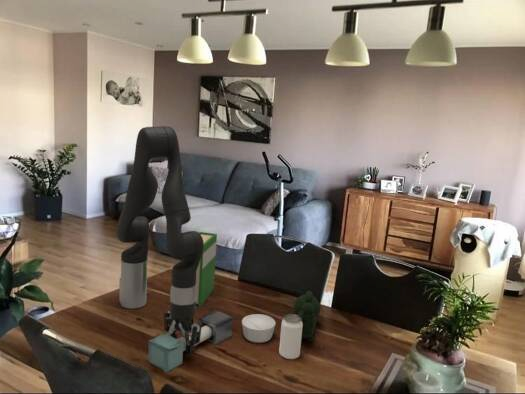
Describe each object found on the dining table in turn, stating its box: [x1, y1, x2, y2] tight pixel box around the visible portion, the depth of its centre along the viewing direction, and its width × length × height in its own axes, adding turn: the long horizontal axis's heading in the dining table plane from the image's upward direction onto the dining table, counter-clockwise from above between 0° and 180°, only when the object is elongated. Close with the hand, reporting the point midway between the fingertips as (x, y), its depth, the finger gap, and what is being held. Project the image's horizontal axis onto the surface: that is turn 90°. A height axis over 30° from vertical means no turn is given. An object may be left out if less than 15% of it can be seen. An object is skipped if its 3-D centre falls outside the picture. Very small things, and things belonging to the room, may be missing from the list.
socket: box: [147, 332, 184, 373], centre depth 120 cm, size 8×6×6 cm
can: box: [278, 313, 303, 360], centre depth 129 cm, size 6×6×12 cm
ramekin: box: [241, 313, 276, 344], centre depth 139 cm, size 11×11×5 cm
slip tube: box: [177, 325, 213, 352], centre depth 129 cm, size 4×22×4 cm, turn 143°
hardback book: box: [196, 231, 218, 308], centre depth 165 cm, size 18×7×24 cm, turn 170°
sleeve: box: [198, 309, 234, 346], centre depth 137 cm, size 8×8×6 cm
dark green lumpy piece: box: [293, 290, 321, 342], centre depth 144 cm, size 9×19×25 cm
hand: (180, 350), depth 126 cm, fingers open, 6 cm apart
